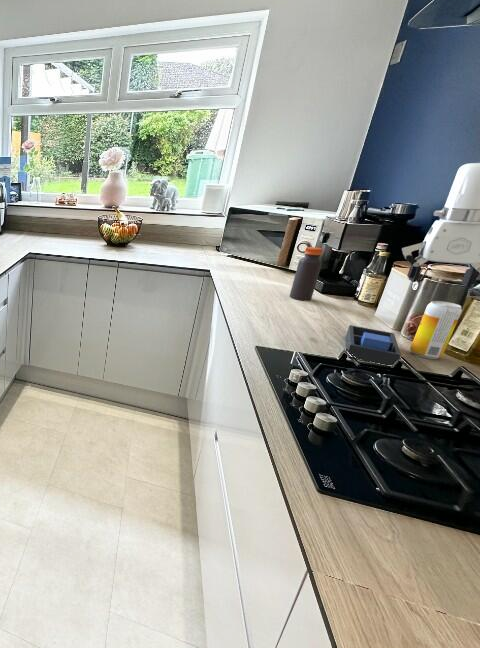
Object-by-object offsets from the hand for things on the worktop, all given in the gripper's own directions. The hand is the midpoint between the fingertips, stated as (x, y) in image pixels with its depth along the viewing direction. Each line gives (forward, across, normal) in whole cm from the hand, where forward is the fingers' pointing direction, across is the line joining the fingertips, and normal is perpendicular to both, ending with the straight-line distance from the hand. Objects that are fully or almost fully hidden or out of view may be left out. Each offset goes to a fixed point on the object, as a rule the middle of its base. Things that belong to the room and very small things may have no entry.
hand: (438, 283), depth 103 cm
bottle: (+21, -18, +47) cm, 55 cm away
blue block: (+20, -10, -6) cm, 23 cm away
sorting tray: (+21, -9, -2) cm, 23 cm away
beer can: (+21, +4, +3) cm, 22 cm away
